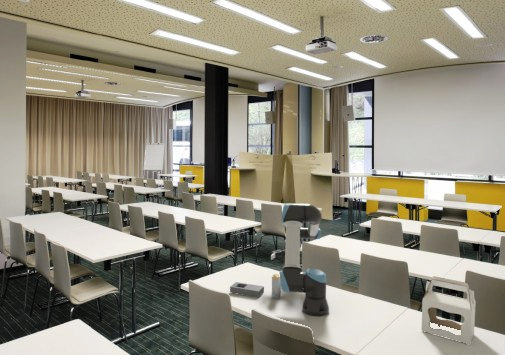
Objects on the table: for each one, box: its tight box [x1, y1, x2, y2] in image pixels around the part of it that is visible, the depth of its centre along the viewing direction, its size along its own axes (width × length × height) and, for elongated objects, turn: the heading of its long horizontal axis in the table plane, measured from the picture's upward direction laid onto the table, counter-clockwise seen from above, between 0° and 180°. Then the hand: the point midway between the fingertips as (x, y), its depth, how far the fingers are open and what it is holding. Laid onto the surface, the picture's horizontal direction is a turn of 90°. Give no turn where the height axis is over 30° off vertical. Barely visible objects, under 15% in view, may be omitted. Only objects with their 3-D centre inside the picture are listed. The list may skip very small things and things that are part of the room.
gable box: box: [420, 276, 477, 345], centre depth 190 cm, size 22×13×28 cm, turn 52°
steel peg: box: [271, 273, 282, 300], centre depth 235 cm, size 4×4×14 cm
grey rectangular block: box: [229, 282, 265, 298], centre depth 243 cm, size 20×9×4 cm, turn 68°
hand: (281, 258), depth 243 cm, fingers open, 13 cm apart
